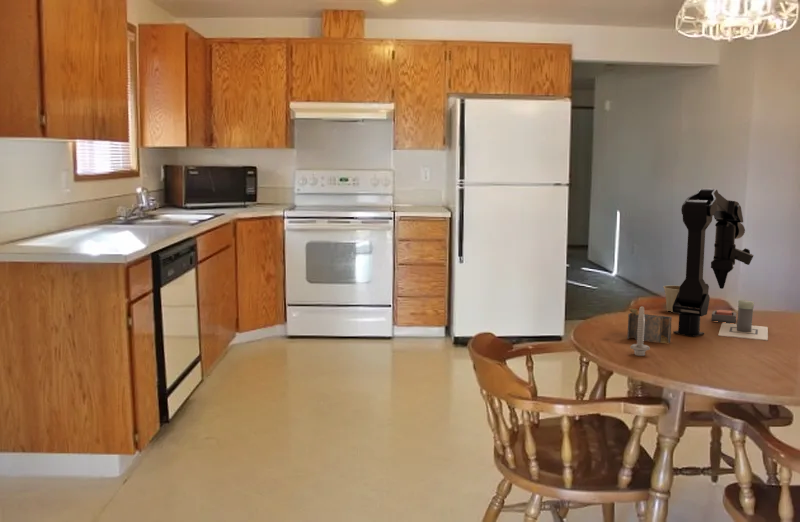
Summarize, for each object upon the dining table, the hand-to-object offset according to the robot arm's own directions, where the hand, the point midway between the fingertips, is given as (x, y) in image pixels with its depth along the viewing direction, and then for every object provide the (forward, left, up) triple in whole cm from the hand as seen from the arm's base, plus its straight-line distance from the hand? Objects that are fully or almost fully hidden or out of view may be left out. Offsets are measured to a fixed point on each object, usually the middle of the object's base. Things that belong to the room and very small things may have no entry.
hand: (721, 288), depth 228 cm
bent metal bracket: (-43, -2, -12) cm, 45 cm away
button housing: (+2, 0, -11) cm, 11 cm away
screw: (-60, -10, -11) cm, 62 cm away
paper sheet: (-9, -12, -11) cm, 19 cm away
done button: (+2, 0, -10) cm, 10 cm away
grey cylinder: (-9, -12, -11) cm, 19 cm away
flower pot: (+4, +18, -11) cm, 21 cm away
